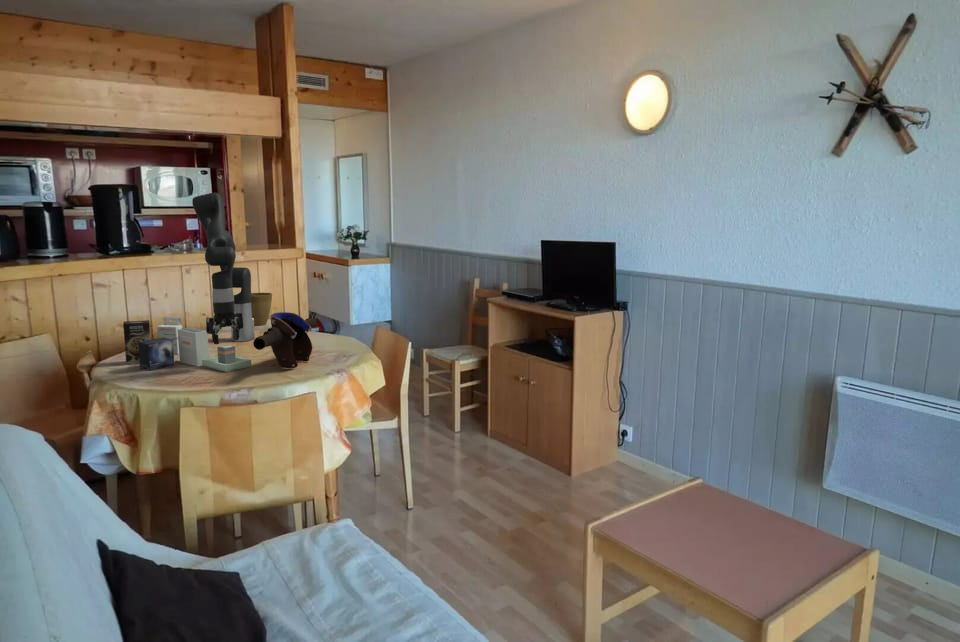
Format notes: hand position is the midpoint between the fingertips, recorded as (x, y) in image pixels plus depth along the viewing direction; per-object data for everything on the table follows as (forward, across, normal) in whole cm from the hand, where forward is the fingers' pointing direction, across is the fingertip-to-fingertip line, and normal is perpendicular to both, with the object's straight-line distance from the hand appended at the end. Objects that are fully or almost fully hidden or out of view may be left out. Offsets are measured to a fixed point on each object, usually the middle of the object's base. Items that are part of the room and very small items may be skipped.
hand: (226, 342), depth 242 cm
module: (+9, 0, 0) cm, 9 cm away
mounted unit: (+10, +4, -15) cm, 18 cm away
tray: (+10, 0, 0) cm, 10 cm away
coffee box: (+10, +16, -33) cm, 38 cm away
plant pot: (+11, -63, -65) cm, 91 cm away
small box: (+10, +16, -20) cm, 28 cm away
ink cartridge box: (+10, 0, -38) cm, 39 cm away
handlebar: (+10, -16, +17) cm, 25 cm away
